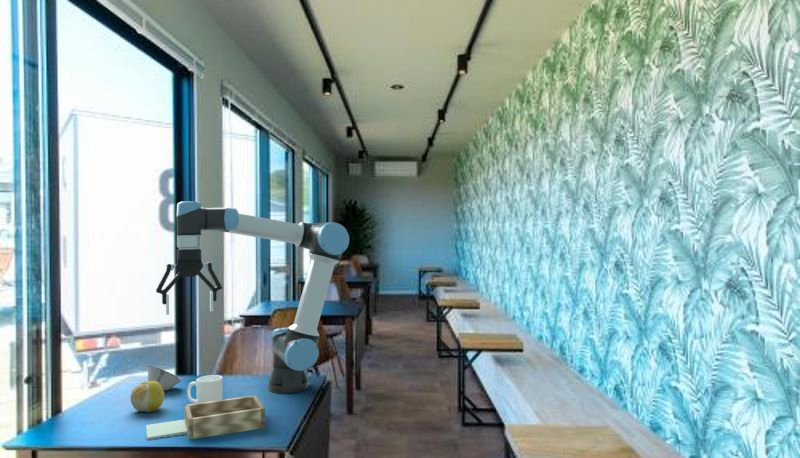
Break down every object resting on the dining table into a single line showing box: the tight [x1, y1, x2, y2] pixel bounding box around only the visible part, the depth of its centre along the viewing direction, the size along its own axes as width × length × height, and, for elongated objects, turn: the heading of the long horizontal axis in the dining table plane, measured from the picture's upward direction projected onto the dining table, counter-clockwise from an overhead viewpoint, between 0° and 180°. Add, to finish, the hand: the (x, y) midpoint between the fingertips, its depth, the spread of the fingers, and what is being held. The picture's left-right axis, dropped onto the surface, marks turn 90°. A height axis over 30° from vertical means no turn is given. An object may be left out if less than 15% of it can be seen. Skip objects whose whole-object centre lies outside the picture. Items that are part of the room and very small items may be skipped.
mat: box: [145, 418, 187, 441], centre depth 163 cm, size 11×11×1 cm
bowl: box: [147, 365, 181, 391], centre depth 205 cm, size 13×13×5 cm
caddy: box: [183, 394, 266, 440], centre depth 167 cm, size 22×15×6 cm
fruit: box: [130, 380, 165, 413], centre depth 182 cm, size 10×11×10 cm
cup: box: [186, 374, 224, 404], centre depth 185 cm, size 8×12×10 cm
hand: (189, 312), depth 181 cm, fingers open, 13 cm apart
